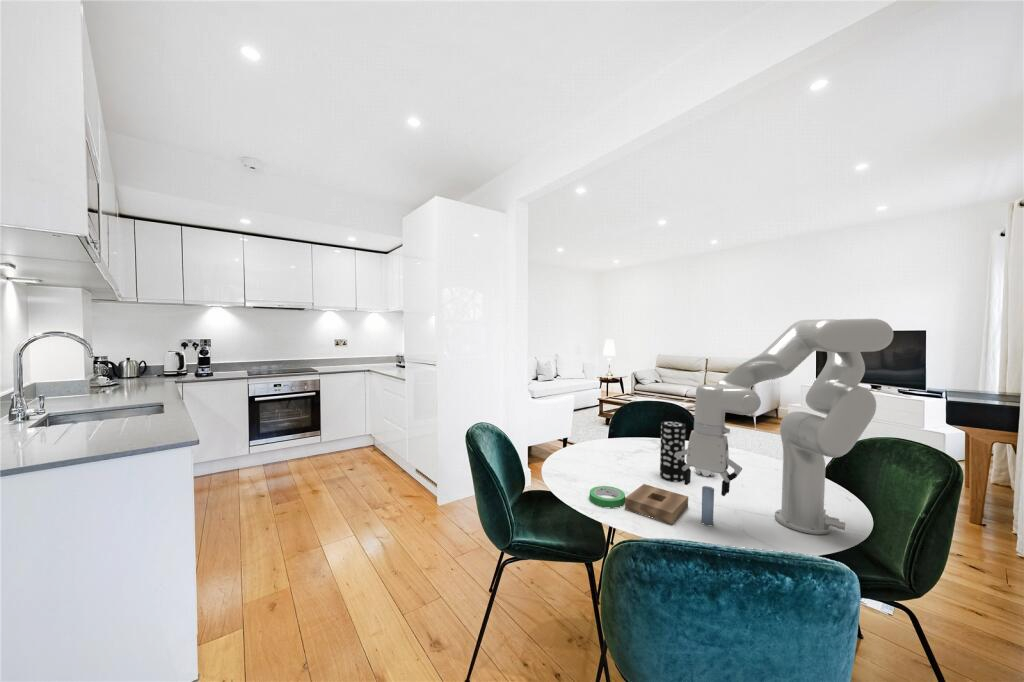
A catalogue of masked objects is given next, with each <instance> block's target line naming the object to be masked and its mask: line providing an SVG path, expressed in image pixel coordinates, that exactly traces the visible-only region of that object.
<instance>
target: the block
mask: <svg viewBox="0 0 1024 682" xmlns="http://www.w3.org/2000/svg"><path fill="white" fill-rule="evenodd" d="M626 509H628V510H627V511H629V510H631V511H630V512H632V511H634V512H633V513H635V512H637V513H636V514H638V513H640V514H639V515H641V514H643V515H642V516H644V515H647V516H650V517H653V518H655V519H658V520H660V521H659V522H661V521H663V522H662V523H664V522H666V523H665V524H667V523H668V524H667V525H670V524H671V525H670V526H673V525H674V524H675V523H676V521H677V520H678V519H679V518H680V517H681V516H682V515H683V514H684V512H686V511H687V509H689V496H687V495H684V494H680V493H677V492H673V491H670V490H666V489H664V488H659V487H655V486H653V485H649V484H645V483H643V484H641V485H640V486H639V487H638V488H637V489H635V490H633V492H631V493H630V494H628V495H627V496H625V504H624V510H626ZM647 516H646V517H647ZM655 519H654V520H655ZM658 520H657V521H658Z"/></svg>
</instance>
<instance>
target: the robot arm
mask: <svg viewBox="0 0 1024 682" xmlns="http://www.w3.org/2000/svg"><path fill="white" fill-rule="evenodd" d="M893 339H894V330H893V328H892V326H891V325H890V324H889V323H888V322H886V321H884V320H883V319H878V318H847V319H846V318H844V319H843V318H842V319H840V318H839V319H835V318H834V319H833V318H832V319H831V318H830V319H829V318H828V319H826V318H825V319H802V320H798V321H796V322H794V323H793V324H792V325H790V326H789V327H788V328H787V329H786V330H785V331H784V332H783V333H782V334H781V335H780V336H778V337H777V338H776V339H775V340H774V341H773V342H772V343H771V344H770V345H768V347H766V349H765V350H764V351H762V352H761V353H760V354H758V355H757V356H755V357H752V358H751V359H749V360H747V361H745V362H743V363H741V364H739V365H737V366H736V367H734V368H732V370H730V371H729V372H727V373H726V374H725V376H724V377H722V378H721V379H720V380H719V381H718V382H717V383H716V384H700V385H698V386H697V387H696V388H695V389H696V390H695V403H694V404H695V405H694V420H693V430H691V432H690V435H689V439H688V443H687V449H686V448H685V450H682V451H678V452H676V453H675V457H676V459H677V462H678V464H679V465H680V466H681V467H682V470H683V480H684V484H683V485H685V486H688V485H689V484H690V483H691V476H692V475H691V473H692V470H691V468H695V467H696V468H699V469H703V470H707V471H711V472H715V473H716V474H719V475H720V476H721V478H722V479H723V480H722V483H721V496H723V497H725V496H726V495H727V494H729V493H730V488H731V487H730V485H731V483H730V482H731V481H733V480H734V479H736V478H737V477H738V476H739V475H740V473H742V471H743V467H742V466H741V465H739V464H738V463H736V462H735V461H733V460H732V459H730V458H729V456H730V455H729V454H730V453H729V451H730V450H729V442H728V436H727V434H729V435H730V433H731V429H730V428H727V427H726V424H725V421H726V420H725V417H726V413H730V414H735V415H741V416H744V415H745V416H747V415H752V414H754V413H756V412H757V411H758V410H759V409H760V408H761V405H762V404H761V403H762V401H761V398H760V395H758V393H757V392H756V391H754V390H752V389H751V388H752V387H753V386H755V385H757V384H759V383H761V382H762V383H763V382H766V381H769V380H771V381H772V380H775V379H780V378H783V377H785V376H788V375H789V374H792V372H793V371H795V370H796V368H798V367H799V366H800V365H801V364H802V363H803V362H804V361H805V360H807V358H808V357H809V356H810V355H812V353H814V352H826V354H827V359H826V362H825V365H824V367H823V368H822V370H821V371H820V373H819V374H818V375H817V377H816V379H815V380H814V382H813V383H812V385H811V386H810V388H809V389H808V391H807V392H806V395H805V403H806V405H807V406H808V408H809V409H811V410H813V411H814V412H817V413H820V414H823V415H826V416H825V417H823V416H820V415H816V414H813V413H809V412H805V411H792V412H789V413H787V414H785V416H783V417H782V419H781V420H780V424H779V433H780V438H781V443H782V481H781V508H780V509H777V510H775V512H774V518H775V520H776V521H777V522H779V523H780V524H781V525H783V526H784V527H787V528H788V529H791V530H794V531H796V532H797V531H798V532H801V533H805V534H810V535H827V534H828V533H830V532H831V529H832V528H831V527H833V528H836V529H839V530H843V531H846V522H843V521H841V520H840V518H838V517H833V516H829V514H826V512H827V510H826V509H825V490H826V488H825V486H826V484H825V483H826V460H825V457H827V458H840V457H843V456H844V455H846V454H848V453H849V452H850V451H851V450H852V449H853V448H854V446H855V445H856V444H857V442H858V440H859V439H860V438H861V436H862V435H863V434H864V432H865V430H866V429H867V427H868V426H869V424H870V423H871V421H872V419H873V418H874V417H875V415H876V411H877V401H876V397H875V396H874V394H873V392H871V391H870V390H869V389H867V388H866V387H863V386H860V382H861V381H862V379H863V378H864V375H865V372H866V365H865V360H864V358H863V356H862V353H864V352H865V353H869V352H878V351H882V350H884V349H886V348H887V347H888V346H889V345H891V343H892V342H893ZM861 352H862V353H861ZM725 434H726V435H725ZM682 455H685V457H686V458H685V459H686V462H684V460H683V459H682V457H681V456H682ZM729 467H731V468H732V469H733V470H734V471H733V472H732V473H730V472H728V469H729ZM715 473H714V474H715Z"/></svg>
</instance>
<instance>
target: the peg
mask: <svg viewBox="0 0 1024 682" xmlns="http://www.w3.org/2000/svg"><path fill="white" fill-rule="evenodd" d="M714 505H715V488H713V487H711V486H708V485H707V486H706V485H703V486H702V488H701V517H700V518H701V524H702V523H704V524H706V525H705V526H707V525H712V526H714V509H715V508H714ZM704 524H703V525H704Z"/></svg>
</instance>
